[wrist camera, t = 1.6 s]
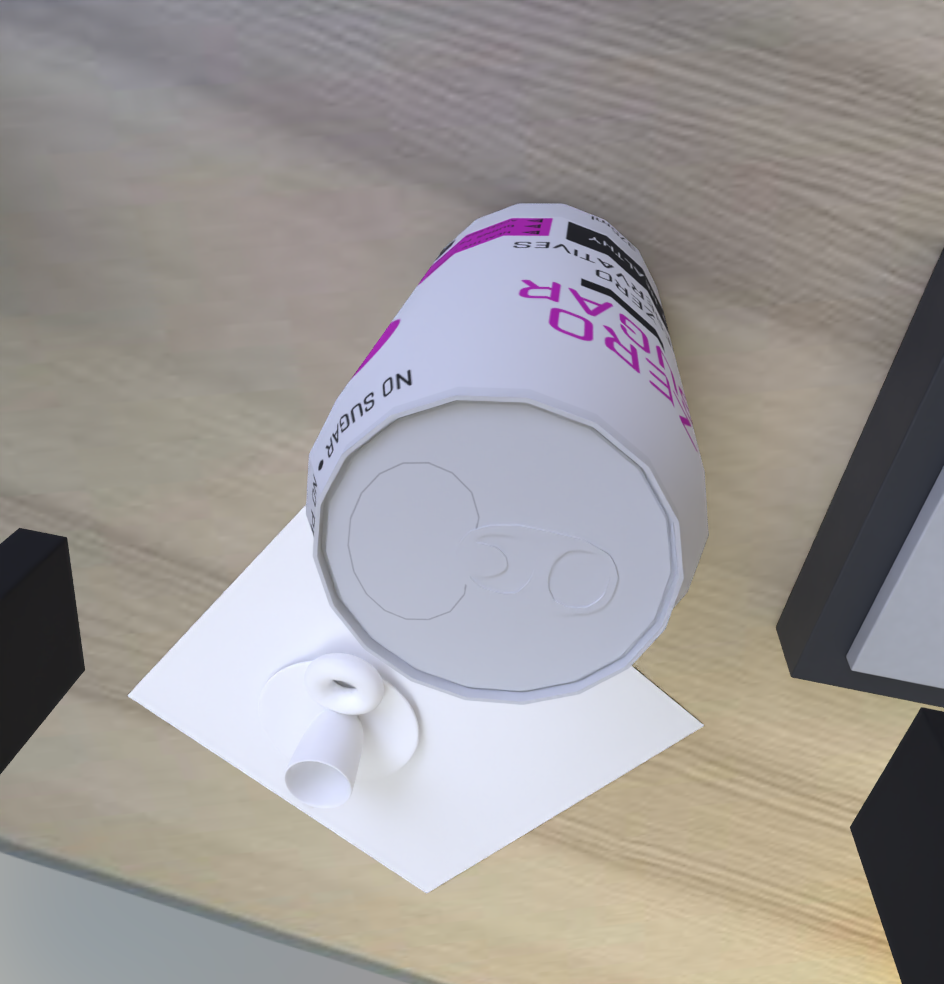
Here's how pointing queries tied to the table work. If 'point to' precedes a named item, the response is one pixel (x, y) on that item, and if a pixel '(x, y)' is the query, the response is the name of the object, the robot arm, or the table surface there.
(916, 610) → the scale
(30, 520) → the table surface
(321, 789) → the teacup and saucer
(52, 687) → the robot arm
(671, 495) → the white drink can
